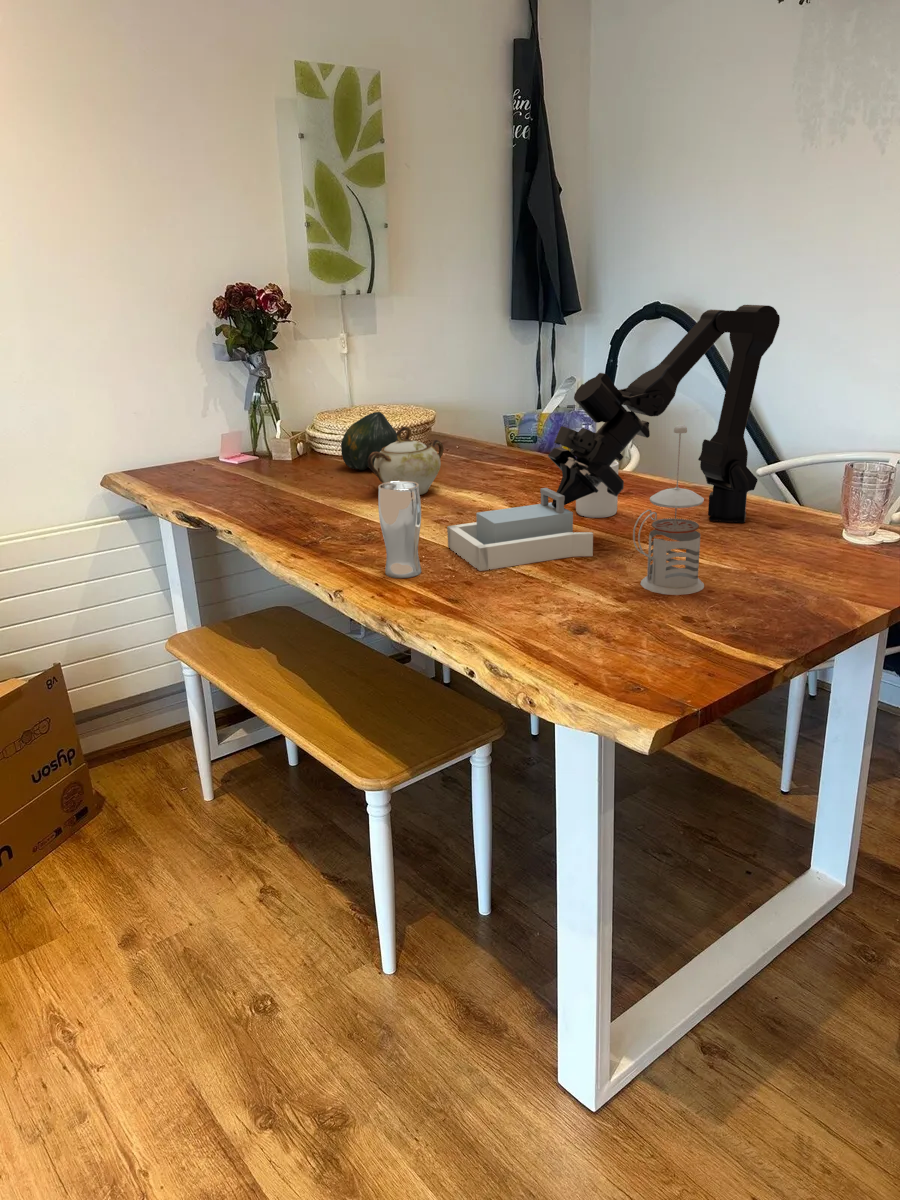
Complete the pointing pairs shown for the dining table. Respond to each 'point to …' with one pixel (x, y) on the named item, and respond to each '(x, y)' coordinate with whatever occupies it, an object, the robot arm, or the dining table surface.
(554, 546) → the bay
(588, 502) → the mug
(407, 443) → the sugar bowl
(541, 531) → the box with loop handle
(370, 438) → the squash
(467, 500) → the dining table surface
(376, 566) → the dining table surface
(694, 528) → the french press
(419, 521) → the beer glass
